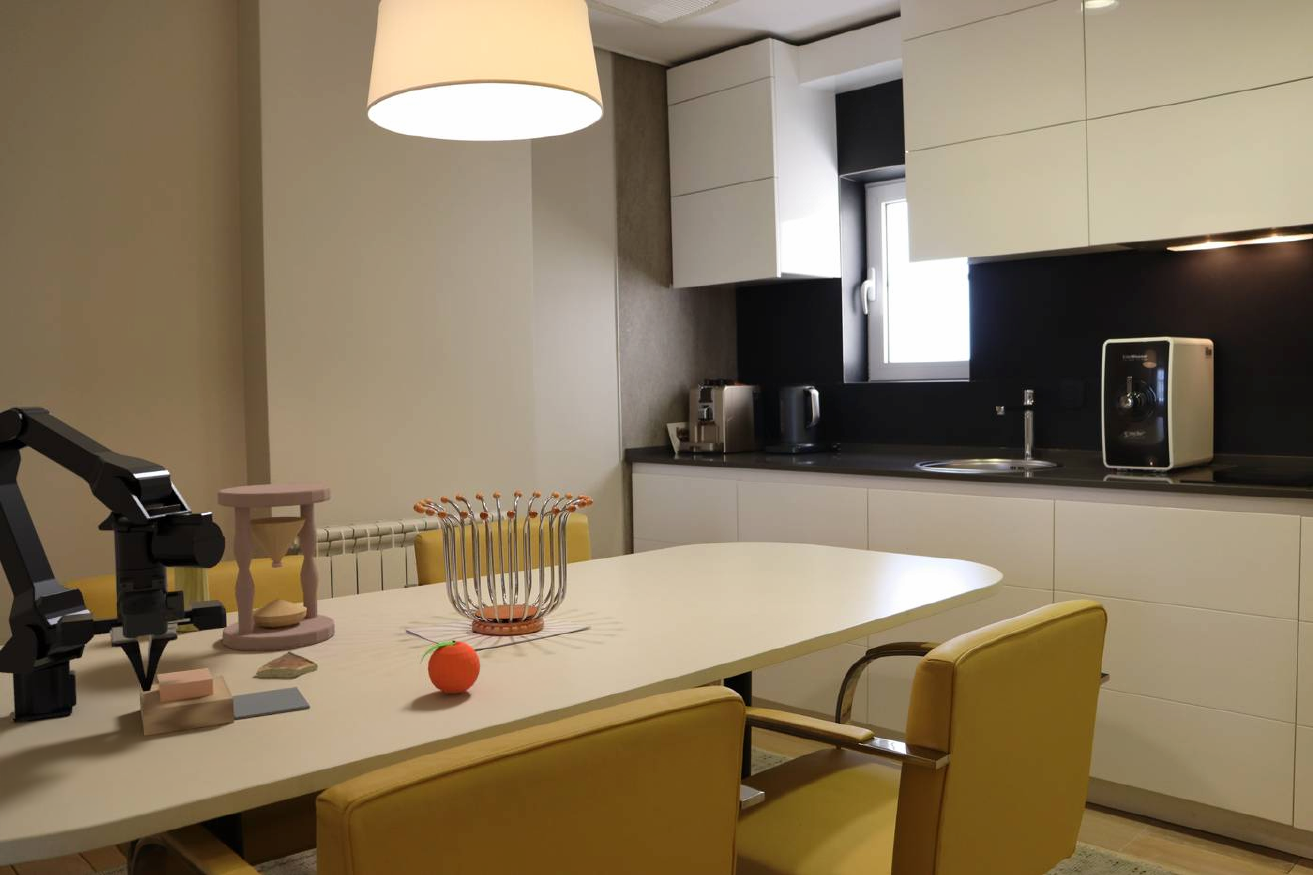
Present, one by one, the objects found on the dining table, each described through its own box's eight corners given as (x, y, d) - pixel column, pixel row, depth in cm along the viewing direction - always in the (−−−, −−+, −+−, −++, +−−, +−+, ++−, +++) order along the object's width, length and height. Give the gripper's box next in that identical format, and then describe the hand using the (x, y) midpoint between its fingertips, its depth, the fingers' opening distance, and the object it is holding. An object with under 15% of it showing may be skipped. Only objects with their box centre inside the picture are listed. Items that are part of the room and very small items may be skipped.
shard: (289, 660, 162) (288, 649, 162) (336, 661, 161) (336, 649, 161) (254, 680, 151) (253, 668, 151) (304, 681, 151) (304, 668, 150)
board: (144, 735, 126) (143, 710, 126) (140, 709, 137) (139, 686, 136) (234, 722, 131) (233, 698, 131) (223, 697, 141) (222, 675, 141)
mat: (235, 719, 132) (235, 717, 132) (226, 699, 141) (226, 696, 141) (309, 708, 136) (309, 705, 136) (296, 689, 145) (296, 686, 145)
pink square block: (160, 701, 129) (159, 685, 129) (157, 689, 135) (157, 674, 135) (213, 694, 132) (212, 678, 132) (208, 683, 138) (208, 667, 137)
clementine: (426, 704, 137) (424, 650, 137) (415, 690, 143) (414, 638, 143) (486, 696, 140) (485, 643, 140) (473, 683, 146) (472, 632, 146)
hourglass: (254, 657, 163) (248, 495, 162) (203, 640, 175) (198, 489, 173) (355, 636, 176) (350, 486, 175) (301, 621, 188) (297, 481, 186)
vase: (167, 628, 183) (164, 547, 183) (202, 622, 188) (199, 542, 187) (182, 633, 179) (179, 550, 179) (218, 627, 184) (215, 546, 183)
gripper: (51, 584, 119) (58, 720, 120) (228, 568, 128) (234, 695, 129) (55, 570, 129) (61, 696, 130) (219, 556, 138) (224, 674, 138)
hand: (146, 690), depth 131 cm, fingers closed
